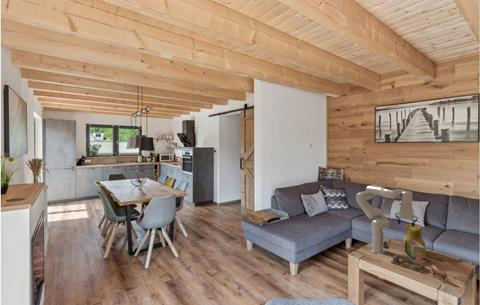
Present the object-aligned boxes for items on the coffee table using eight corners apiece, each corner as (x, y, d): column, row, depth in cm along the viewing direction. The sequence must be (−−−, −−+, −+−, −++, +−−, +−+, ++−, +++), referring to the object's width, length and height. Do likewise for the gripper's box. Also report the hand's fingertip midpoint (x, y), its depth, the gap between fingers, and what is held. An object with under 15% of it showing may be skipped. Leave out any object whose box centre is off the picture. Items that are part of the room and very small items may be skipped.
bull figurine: (432, 273, 193) (432, 263, 192) (448, 283, 179) (448, 272, 179) (427, 273, 192) (427, 263, 192) (443, 283, 179) (443, 273, 178)
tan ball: (397, 263, 206) (398, 259, 206) (399, 261, 209) (399, 257, 208) (402, 264, 203) (402, 260, 203) (403, 263, 206) (404, 259, 206)
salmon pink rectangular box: (413, 269, 196) (413, 253, 196) (415, 265, 202) (415, 250, 201) (420, 271, 193) (421, 255, 192) (422, 267, 198) (423, 252, 197)
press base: (390, 264, 206) (391, 257, 206) (394, 259, 215) (395, 252, 214) (422, 274, 190) (422, 267, 190) (425, 269, 198) (425, 262, 198)
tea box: (425, 264, 206) (426, 247, 205) (412, 263, 208) (412, 246, 207) (416, 255, 221) (416, 240, 220) (404, 255, 223) (404, 239, 222)
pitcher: (401, 251, 228) (403, 226, 227) (403, 246, 242) (405, 221, 241) (423, 258, 217) (426, 231, 216) (425, 251, 231) (427, 226, 230)
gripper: (393, 204, 208) (393, 223, 209) (418, 208, 195) (417, 229, 196) (396, 202, 213) (395, 221, 214) (420, 206, 201) (419, 226, 202)
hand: (406, 225), depth 205 cm, fingers open, 9 cm apart
